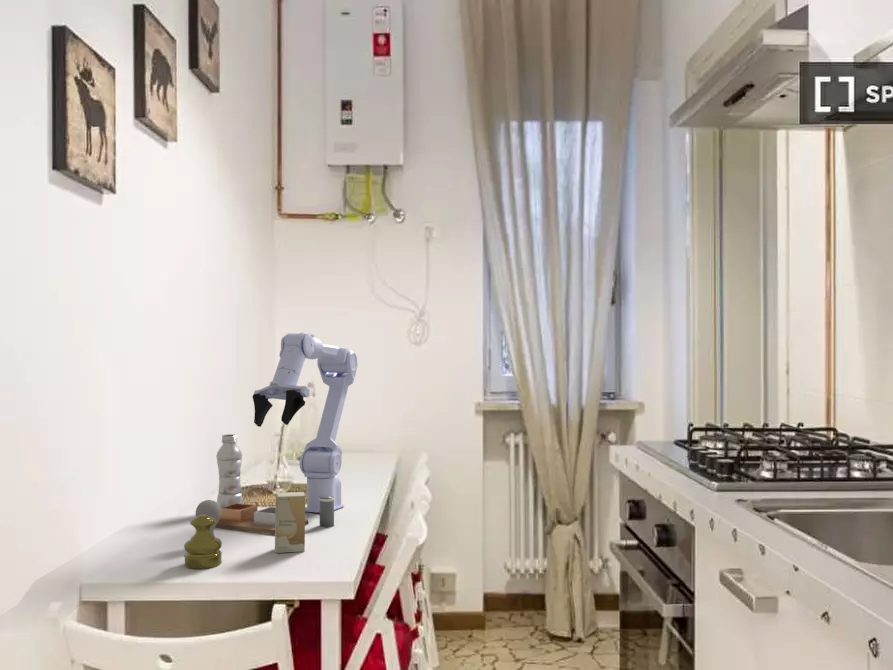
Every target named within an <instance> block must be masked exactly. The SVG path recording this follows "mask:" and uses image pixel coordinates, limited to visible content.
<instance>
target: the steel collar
mask: <svg viewBox="0 0 893 670" xmlns="http://www.w3.org/2000/svg"><path fill="white" fill-rule="evenodd" d="M275 515H276V506H269V507H266V508H263V509H258V510H257V511H256V512H254V525H262V526H270V527H275Z"/></svg>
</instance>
